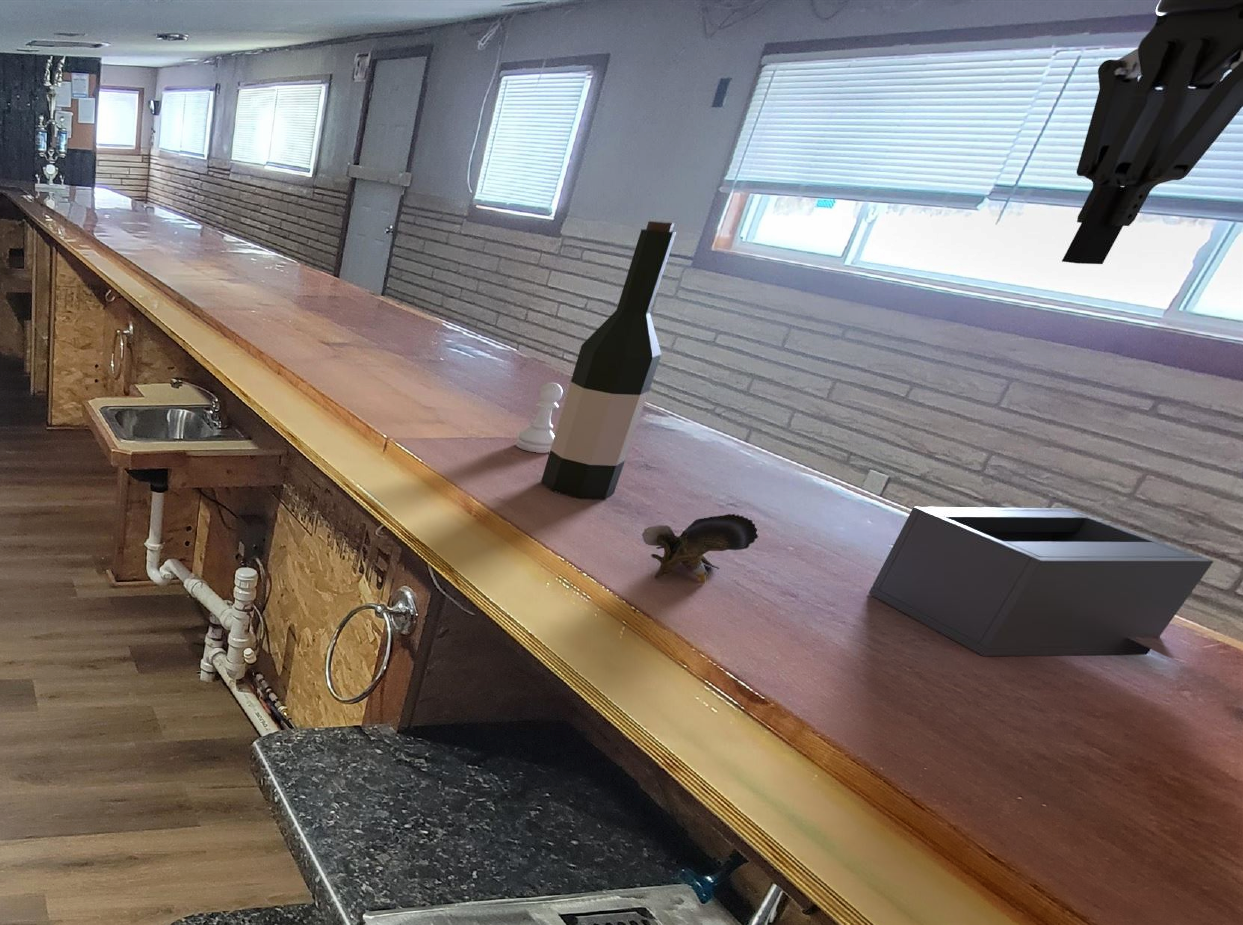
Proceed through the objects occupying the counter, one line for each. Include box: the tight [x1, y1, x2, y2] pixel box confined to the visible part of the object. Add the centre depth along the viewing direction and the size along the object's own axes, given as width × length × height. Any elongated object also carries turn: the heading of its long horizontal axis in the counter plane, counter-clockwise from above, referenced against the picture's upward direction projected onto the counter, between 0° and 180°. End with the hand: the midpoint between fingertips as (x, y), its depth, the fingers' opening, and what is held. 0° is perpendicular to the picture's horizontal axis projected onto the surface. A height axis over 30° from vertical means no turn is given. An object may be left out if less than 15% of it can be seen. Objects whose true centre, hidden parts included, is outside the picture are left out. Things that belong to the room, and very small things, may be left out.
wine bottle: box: [540, 220, 677, 500], centre depth 105 cm, size 8×8×30 cm
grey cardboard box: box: [868, 506, 1215, 657], centre depth 81 cm, size 16×9×12 cm
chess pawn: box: [515, 382, 563, 454], centre depth 124 cm, size 5×5×9 cm
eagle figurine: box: [641, 513, 759, 584], centre depth 89 cm, size 8×7×9 cm
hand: (1081, 262), depth 87 cm, fingers closed
